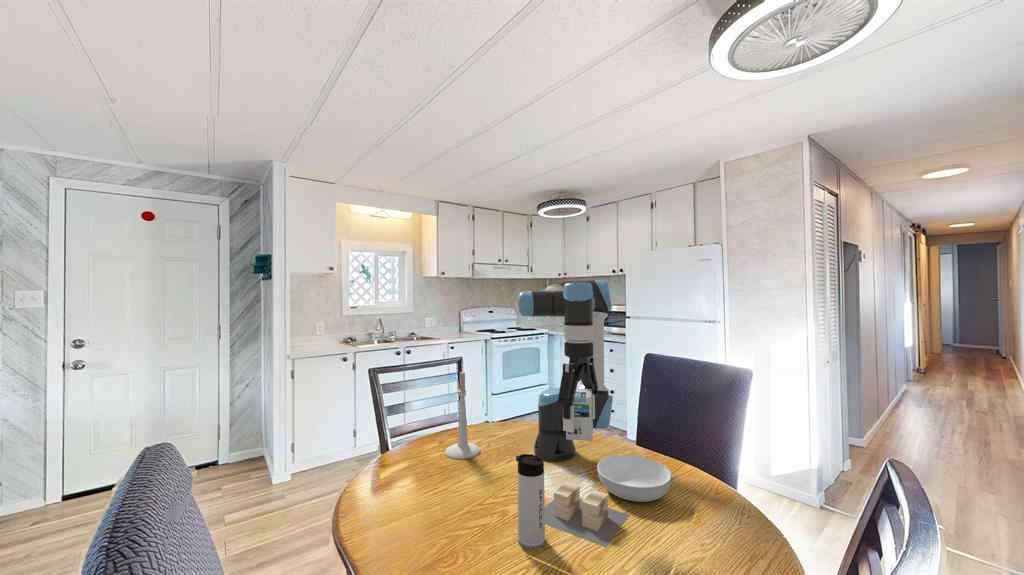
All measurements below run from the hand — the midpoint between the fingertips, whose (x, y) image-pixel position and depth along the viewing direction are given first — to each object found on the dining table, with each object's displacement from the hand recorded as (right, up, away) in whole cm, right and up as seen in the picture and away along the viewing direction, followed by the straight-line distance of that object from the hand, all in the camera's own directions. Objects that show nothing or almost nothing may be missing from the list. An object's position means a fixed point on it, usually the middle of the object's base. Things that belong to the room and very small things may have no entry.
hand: (579, 424), depth 102 cm
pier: (+3, -24, -3) cm, 24 cm away
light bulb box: (0, -3, 0) cm, 3 cm away
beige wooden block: (-3, -24, +2) cm, 24 cm away
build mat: (0, -24, -1) cm, 24 cm away
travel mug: (-13, -24, -10) cm, 30 cm away
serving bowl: (+18, -25, +13) cm, 33 cm away
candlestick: (-36, -26, +43) cm, 62 cm away
